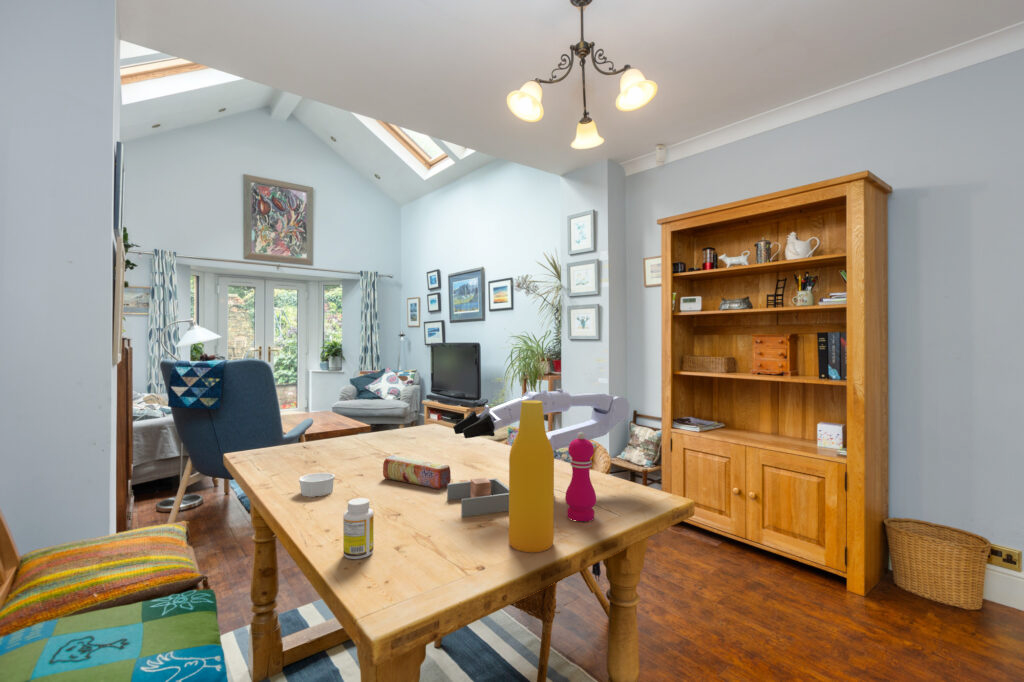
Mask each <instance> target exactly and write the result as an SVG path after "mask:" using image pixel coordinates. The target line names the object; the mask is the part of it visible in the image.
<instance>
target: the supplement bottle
mask: <svg viewBox="0 0 1024 682" xmlns="http://www.w3.org/2000/svg"><path fill="white" fill-rule="evenodd" d="M374 517H375V515H374V510H373V509H372V508H370V499H368V498H366V497H365V498H364V497H359V498H358V497H357V498H351V499H350V500H348V501H347V510H346V511H345V512H344V513H343V519H342V520H343V529H342V530H343V532H342V533H343V534H342V536H343V555H344V557H345V558H347V559H349V560H361V559H365V558H367V557H369V556H371V555H372V553H373V552H374V545H375V544H374V537H375V536H374V534H375V533H374Z"/></svg>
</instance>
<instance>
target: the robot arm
mask: <svg viewBox="0 0 1024 682" xmlns="http://www.w3.org/2000/svg"><path fill="white" fill-rule="evenodd" d="M527 400H535V401H542V405H543V414H544V415H546V414H547V413H556V412H557V413H559V412H562V413H564V412H567V411H569V410H570V408H571V407H591V408H592V410H591V411H592V412H591V418H590V420H587V421H584V422H580V423H575V424H572V425H569V426H566V427H562V428H561V427H560V428H558V429H554V430H551V431H548V432H546V435H547V437H548V439H549V441H550V444H551V446H552V449H553V451H556V450H560V449H563V448H567V447H569V444H570V443H571V442H572V441H573V440H575V439H578V437H577V435H578V433H579V432H583V433H584V434H585V438H584V439H587V440H589V441H590V440H594V439H597V438H600V437H604V436H606V435H607V434H609V432H611V431H612V429H614V428H615V427H616V426H617V425H618V424H619V423H621V422H624V421H626V420H627V419H626V418H628V414H629V411H630V403H629V401H628V399H627V398H625V397H624V396H618V395H617V396H616V395H611V394H607V393H599V392H588V393H578V394H569V392H568V391H566V390H564V389H563V388H556V391H555V390H554V391H552V390H551V391H547V390H545V389H542V390H541V392H537V391H526V392H525V393H524V394H523V395H522V396H521V397H518V398H515V399H512V400H509V401H506V402H504V403H502V404H499V405H496V406H493V407H490V406H489V405H487V404H485V405H484V406H483V409H484V410H483V411H482V412H481V413H479V414H477V412H476V411H475V410H472V411H471V412H470V413H469V414H468V415H467V416H466V417H465V418H464V419H462V420H461V421H459V422H457V423H456V424H454V425H453V431H454V434H455V435H460V434H463V438H464V439H471V438H478V437H495V436H496V435H495V432H496V431H498V430H499V429H503V428H504V427H507V426H510V425H513V424H515V423H516V422H520V413H521V404H522V401H527ZM515 438H516V436H515V437H514V439H513V441H512V443H513V442H514V440H515Z"/></svg>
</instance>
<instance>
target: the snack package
mask: <svg viewBox="0 0 1024 682" xmlns="http://www.w3.org/2000/svg"><path fill="white" fill-rule="evenodd" d="M382 475H383V478H384V479H385V480H386V479H387V480H393V481H398V482H402V483H403V482H404V483H409V484H414V485H419V486H423V487H426V488H427V487H428V488H432V489H437V490H442V489H444V488H447V484H450V483H451V478H452V477H451V468H450V465H448V464H446V463H445V464H444V463H436V462H432V461H427V460H422V459H414V458H410V457H405V456H404V457H403V456H400V455H396V454H393V455H389V456H387V457H385V459H384V461H383V464H382Z"/></svg>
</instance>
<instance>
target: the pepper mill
mask: <svg viewBox="0 0 1024 682" xmlns="http://www.w3.org/2000/svg"><path fill="white" fill-rule="evenodd" d="M577 437H578V439H575V440H573V441H572V442H571V443H570V444H569V446H568V451H567V452H568V455H569V456H570V457H571V458H570V459H569V461H570V464H569V465H570V466H571V468H572V469H571V470H572V476H571V480H570V482H569V484H568V487H567V489H566V491H565V496H564V497H565V498H564V499H565V503H566V505H568V508H567V511H566V513H567V515H566V517H567V518H568V519H569V518H570V519H572V520H571V521H573V520H576V521H575V522H577V521H588V522H591V521H593V520H594V519H595V509H593V508H594V506H595V505H596V503H597V494H596V491H595V488H594V486H593V484H592V481H591V477H590V475H591V474H590V470H591V468H592V465H593V464H592V462H593V461H592V459H591V458H592V457H593V456H594V453H595V448H594V445H593V443H592V442H591V441H590V440H587V439H584V438H585V434H584V433H583V432H579V433H578V435H577ZM570 519H569V520H570ZM592 519H593V520H592ZM590 520H591V521H590Z"/></svg>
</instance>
